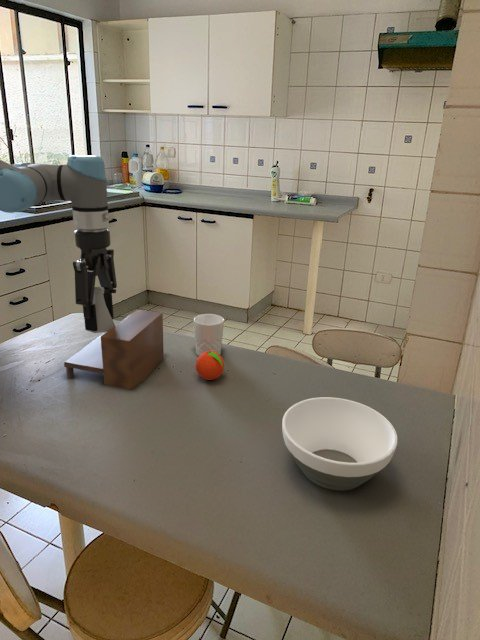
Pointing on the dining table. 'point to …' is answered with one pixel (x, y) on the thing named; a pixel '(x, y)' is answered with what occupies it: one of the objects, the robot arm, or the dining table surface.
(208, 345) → the white cup
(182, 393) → the dining table surface
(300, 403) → the bowl
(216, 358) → the clementine
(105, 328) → the flask
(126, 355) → the shelf
